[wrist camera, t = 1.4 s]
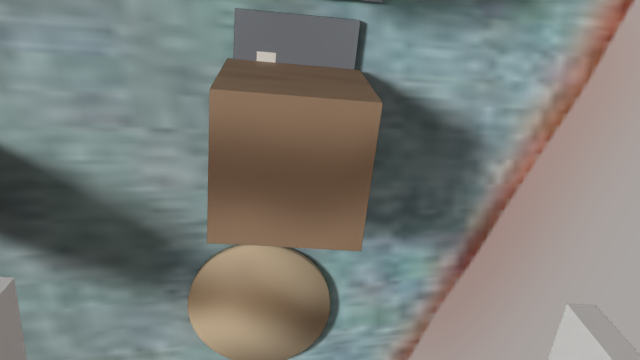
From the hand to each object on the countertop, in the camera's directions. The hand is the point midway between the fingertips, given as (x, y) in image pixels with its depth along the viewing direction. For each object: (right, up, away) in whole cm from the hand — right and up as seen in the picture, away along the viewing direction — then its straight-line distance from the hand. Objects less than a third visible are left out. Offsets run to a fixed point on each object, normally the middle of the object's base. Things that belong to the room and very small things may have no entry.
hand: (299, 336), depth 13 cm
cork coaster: (-3, -4, +21) cm, 22 cm away
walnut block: (-1, +7, +16) cm, 18 cm away
